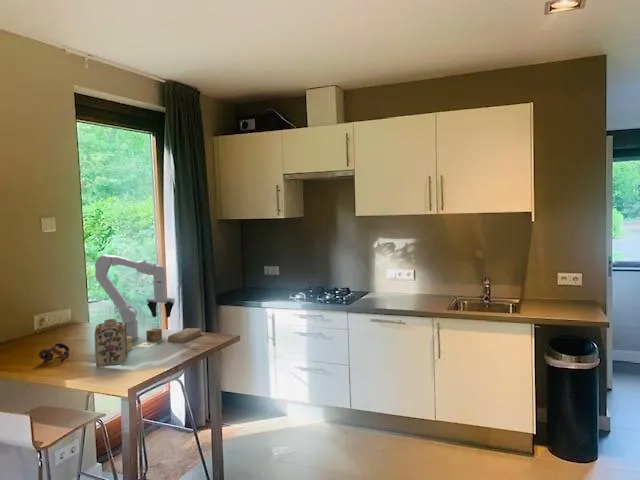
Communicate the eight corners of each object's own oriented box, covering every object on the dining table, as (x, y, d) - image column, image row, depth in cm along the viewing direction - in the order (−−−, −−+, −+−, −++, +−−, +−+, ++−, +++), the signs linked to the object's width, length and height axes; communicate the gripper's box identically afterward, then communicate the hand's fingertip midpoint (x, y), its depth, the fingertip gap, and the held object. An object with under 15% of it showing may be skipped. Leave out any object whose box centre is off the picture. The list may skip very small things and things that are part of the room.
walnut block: (146, 341, 243) (146, 330, 243) (153, 338, 248) (152, 328, 248) (155, 341, 242) (155, 331, 242) (162, 339, 247) (161, 328, 246)
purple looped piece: (56, 357, 227) (65, 341, 227) (67, 369, 223) (76, 353, 222) (30, 357, 217) (39, 340, 216) (41, 370, 212) (50, 353, 212)
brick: (181, 346, 240) (181, 336, 240) (166, 345, 243) (166, 335, 243) (201, 337, 255) (201, 328, 255) (187, 336, 258) (187, 327, 258)
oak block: (116, 349, 230) (115, 338, 230) (123, 346, 235) (123, 335, 235) (125, 350, 229) (124, 339, 229) (132, 347, 234) (132, 336, 233)
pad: (143, 342, 243) (143, 341, 243) (153, 338, 250) (153, 337, 250) (156, 343, 241) (156, 342, 241) (165, 339, 248) (165, 338, 248)
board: (111, 353, 229) (111, 350, 229) (145, 339, 252) (144, 337, 252) (138, 356, 225) (138, 353, 224) (170, 341, 247) (170, 338, 247)
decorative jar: (95, 367, 210) (93, 324, 209) (99, 359, 221) (97, 317, 220) (126, 364, 213) (124, 321, 212) (128, 356, 225) (126, 315, 223)
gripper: (142, 291, 252) (143, 318, 253) (168, 291, 248) (170, 319, 249) (150, 288, 258) (151, 315, 259) (176, 288, 255) (177, 315, 256)
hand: (161, 316), depth 255 cm, fingers open, 7 cm apart
